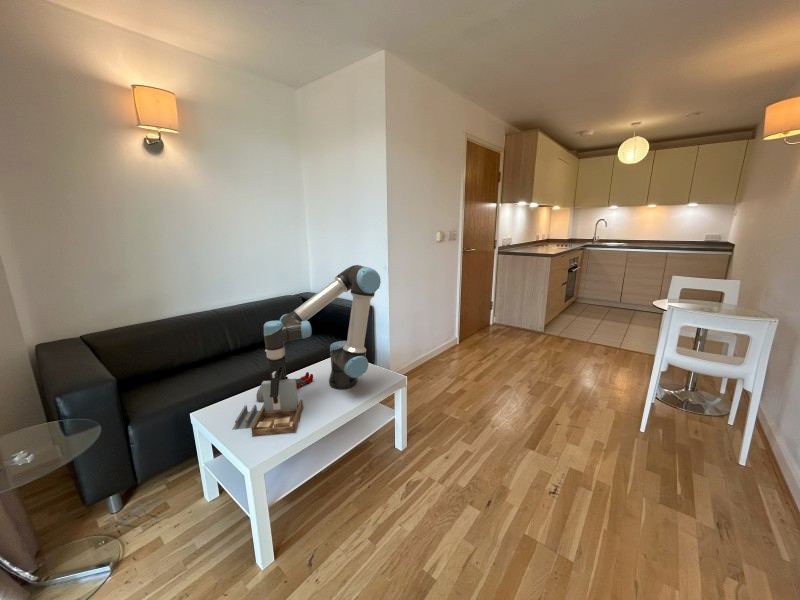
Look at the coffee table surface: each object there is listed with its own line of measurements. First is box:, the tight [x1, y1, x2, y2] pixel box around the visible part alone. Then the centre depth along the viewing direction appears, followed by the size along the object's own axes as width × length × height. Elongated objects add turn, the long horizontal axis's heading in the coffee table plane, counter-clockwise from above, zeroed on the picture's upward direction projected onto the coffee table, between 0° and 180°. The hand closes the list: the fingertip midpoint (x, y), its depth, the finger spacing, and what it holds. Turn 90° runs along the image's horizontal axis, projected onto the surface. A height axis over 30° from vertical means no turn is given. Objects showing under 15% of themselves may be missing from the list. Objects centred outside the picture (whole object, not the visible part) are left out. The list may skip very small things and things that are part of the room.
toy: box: [256, 371, 314, 403], centre depth 168 cm, size 16×10×30 cm
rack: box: [250, 399, 304, 437], centre depth 141 cm, size 17×19×5 cm
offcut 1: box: [256, 422, 272, 429], centre depth 135 cm, size 5×4×3 cm
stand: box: [231, 404, 260, 431], centre depth 143 cm, size 13×8×4 cm, turn 7°
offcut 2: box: [274, 417, 290, 428], centre depth 135 cm, size 6×4×2 cm, turn 103°
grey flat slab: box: [261, 378, 299, 412], centre depth 145 cm, size 14×3×16 cm, turn 97°
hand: (280, 400), depth 146 cm, fingers open, 13 cm apart
